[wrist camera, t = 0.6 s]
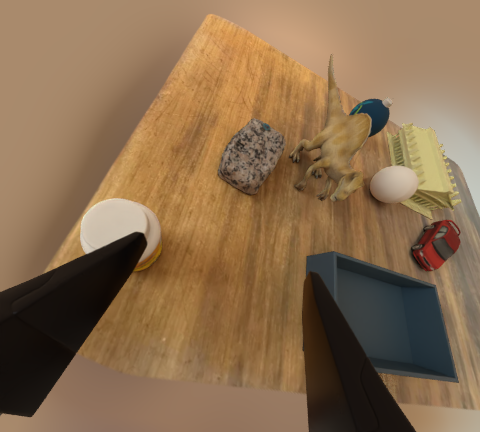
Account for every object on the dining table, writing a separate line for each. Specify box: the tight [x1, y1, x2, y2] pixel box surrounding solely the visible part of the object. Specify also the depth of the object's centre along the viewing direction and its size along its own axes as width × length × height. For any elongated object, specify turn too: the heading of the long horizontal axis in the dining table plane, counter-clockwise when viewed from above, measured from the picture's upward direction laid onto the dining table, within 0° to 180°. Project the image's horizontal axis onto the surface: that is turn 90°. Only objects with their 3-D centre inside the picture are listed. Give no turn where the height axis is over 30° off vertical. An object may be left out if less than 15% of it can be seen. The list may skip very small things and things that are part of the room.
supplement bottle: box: [80, 198, 162, 272], centre depth 17 cm, size 6×6×10 cm
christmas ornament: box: [349, 97, 393, 137], centre depth 43 cm, size 8×8×10 cm
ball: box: [370, 166, 419, 203], centre depth 39 cm, size 8×8×8 cm
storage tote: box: [303, 251, 459, 383], centre depth 27 cm, size 22×13×6 cm, turn 78°
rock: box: [218, 119, 286, 195], centre depth 30 cm, size 13×9×4 cm
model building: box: [387, 123, 461, 220], centre depth 48 cm, size 25×14×7 cm, turn 165°
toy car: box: [411, 220, 460, 271], centre depth 40 cm, size 6×15×5 cm, turn 121°
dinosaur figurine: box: [289, 54, 372, 202], centre depth 31 cm, size 8×26×13 cm, turn 174°
